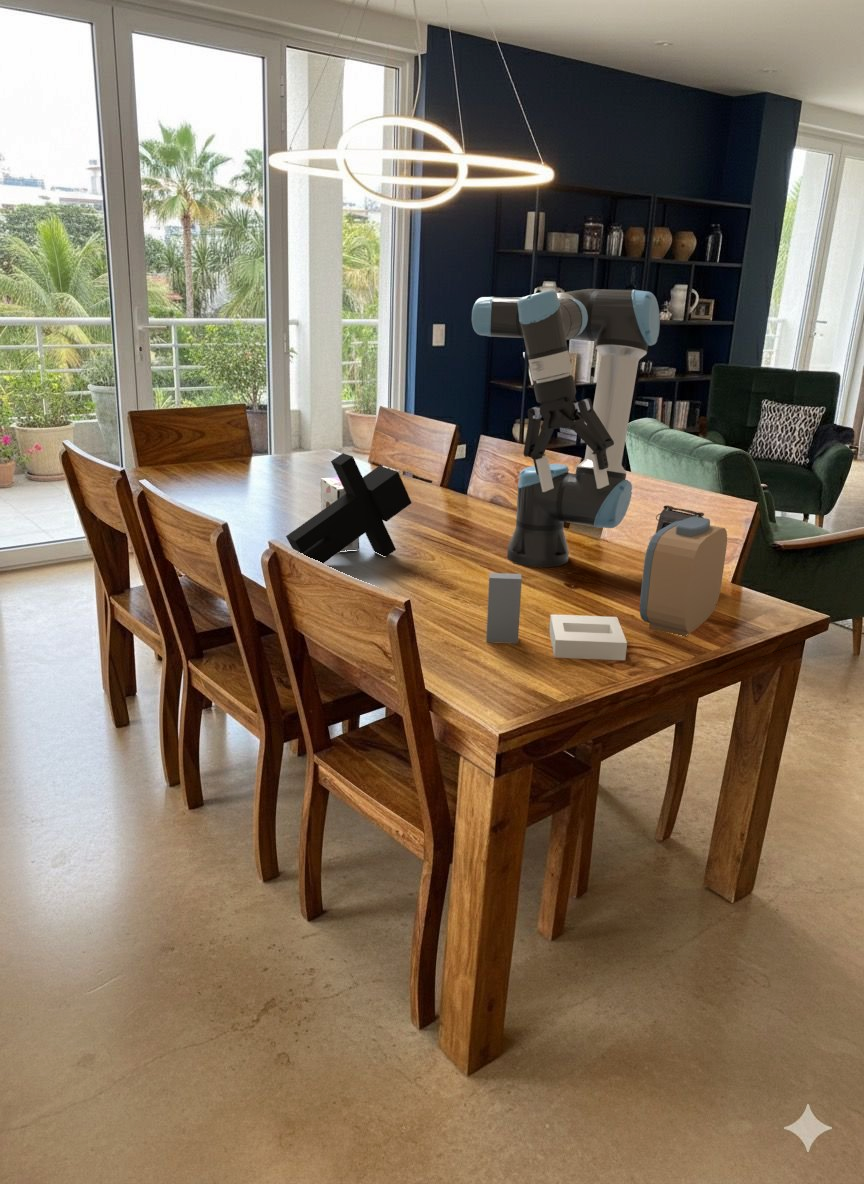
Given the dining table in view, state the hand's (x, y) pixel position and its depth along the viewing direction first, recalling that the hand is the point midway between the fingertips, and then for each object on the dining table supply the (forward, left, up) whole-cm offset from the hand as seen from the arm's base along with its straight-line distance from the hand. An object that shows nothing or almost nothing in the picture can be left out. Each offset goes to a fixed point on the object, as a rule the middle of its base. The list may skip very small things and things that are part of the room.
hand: (574, 488), depth 172 cm
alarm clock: (-2, +23, -28) cm, 36 cm away
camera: (-23, +27, -28) cm, 45 cm away
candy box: (-48, -53, -28) cm, 77 cm away
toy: (-35, -49, -28) cm, 66 cm away
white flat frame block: (+11, +3, -28) cm, 30 cm away
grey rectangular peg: (+10, -13, -28) cm, 32 cm away
